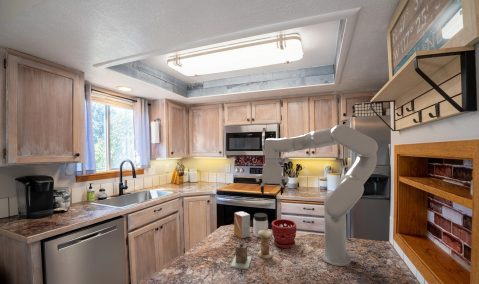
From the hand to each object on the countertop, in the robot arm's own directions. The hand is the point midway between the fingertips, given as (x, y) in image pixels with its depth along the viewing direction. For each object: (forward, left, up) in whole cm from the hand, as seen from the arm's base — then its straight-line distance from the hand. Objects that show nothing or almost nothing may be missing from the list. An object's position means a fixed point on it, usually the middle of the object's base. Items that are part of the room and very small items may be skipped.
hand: (272, 194), depth 116 cm
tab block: (+13, +17, -28) cm, 35 cm away
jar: (+8, -17, -28) cm, 34 cm away
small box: (+19, -14, -28) cm, 37 cm away
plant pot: (-6, -6, -29) cm, 30 cm away
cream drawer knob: (+3, +8, -28) cm, 30 cm away
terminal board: (+13, +17, -28) cm, 35 cm away
